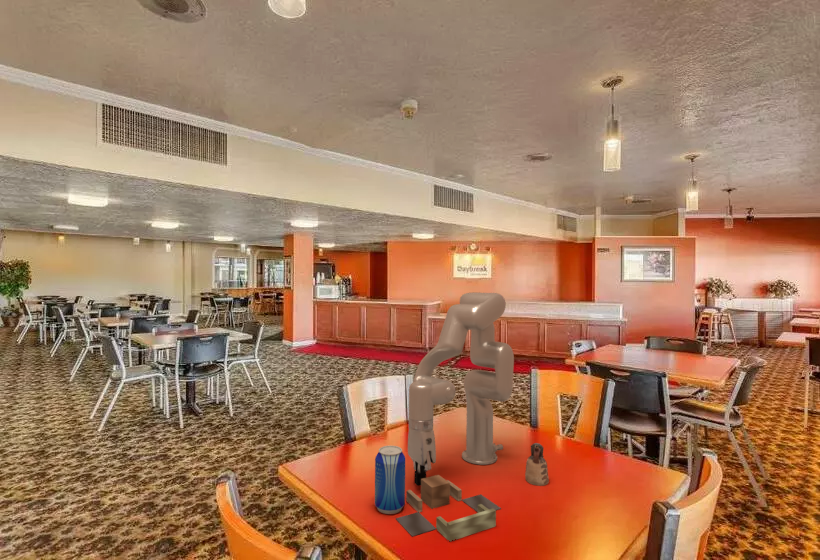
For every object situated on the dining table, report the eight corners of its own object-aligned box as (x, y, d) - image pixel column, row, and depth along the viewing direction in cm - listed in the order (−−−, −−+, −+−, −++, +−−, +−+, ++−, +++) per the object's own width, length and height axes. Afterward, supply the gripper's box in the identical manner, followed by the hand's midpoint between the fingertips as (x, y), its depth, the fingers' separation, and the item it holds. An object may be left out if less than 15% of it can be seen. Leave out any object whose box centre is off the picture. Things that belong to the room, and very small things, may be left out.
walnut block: (438, 495, 125) (438, 474, 125) (449, 504, 120) (449, 482, 120) (420, 499, 122) (420, 478, 122) (431, 509, 117) (431, 487, 117)
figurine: (550, 479, 136) (550, 441, 137) (546, 488, 130) (546, 448, 130) (528, 474, 140) (528, 437, 140) (523, 482, 133) (523, 444, 134)
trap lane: (466, 485, 131) (466, 472, 132) (516, 519, 112) (516, 504, 112) (384, 506, 118) (384, 492, 118) (424, 550, 98) (424, 532, 99)
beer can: (374, 500, 121) (375, 444, 122) (403, 499, 122) (404, 443, 122) (374, 516, 113) (375, 456, 113) (405, 515, 114) (406, 455, 114)
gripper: (444, 428, 124) (444, 491, 124) (419, 415, 137) (418, 472, 137) (422, 432, 121) (421, 497, 120) (398, 418, 134) (398, 476, 133)
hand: (420, 483), depth 128 cm, fingers closed
